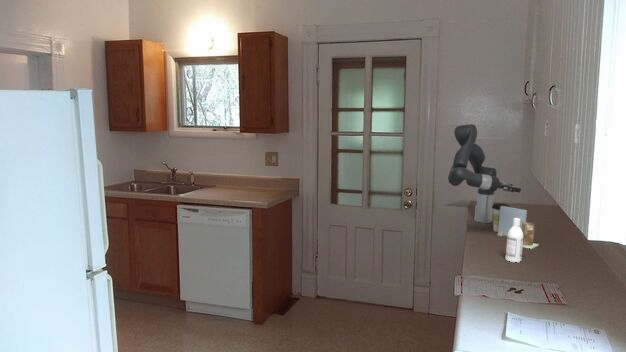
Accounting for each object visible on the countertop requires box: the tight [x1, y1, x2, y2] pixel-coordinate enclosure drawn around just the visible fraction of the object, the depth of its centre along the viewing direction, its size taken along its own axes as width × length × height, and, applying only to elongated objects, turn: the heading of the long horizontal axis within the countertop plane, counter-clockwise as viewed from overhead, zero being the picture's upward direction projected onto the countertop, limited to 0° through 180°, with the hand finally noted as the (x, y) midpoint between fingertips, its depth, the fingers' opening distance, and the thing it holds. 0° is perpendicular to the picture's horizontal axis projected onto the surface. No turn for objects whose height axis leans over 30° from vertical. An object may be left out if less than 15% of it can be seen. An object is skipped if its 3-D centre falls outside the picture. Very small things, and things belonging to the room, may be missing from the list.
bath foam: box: [504, 218, 524, 263], centre depth 231 cm, size 7×7×20 cm
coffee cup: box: [492, 202, 510, 233], centre depth 282 cm, size 10×10×15 cm
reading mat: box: [523, 242, 539, 250], centre depth 257 cm, size 9×9×1 cm
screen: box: [497, 206, 528, 237], centre depth 270 cm, size 14×6×16 cm, turn 45°
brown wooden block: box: [521, 221, 535, 246], centre depth 256 cm, size 4×5×11 cm
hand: (516, 188), depth 257 cm, fingers open, 8 cm apart
